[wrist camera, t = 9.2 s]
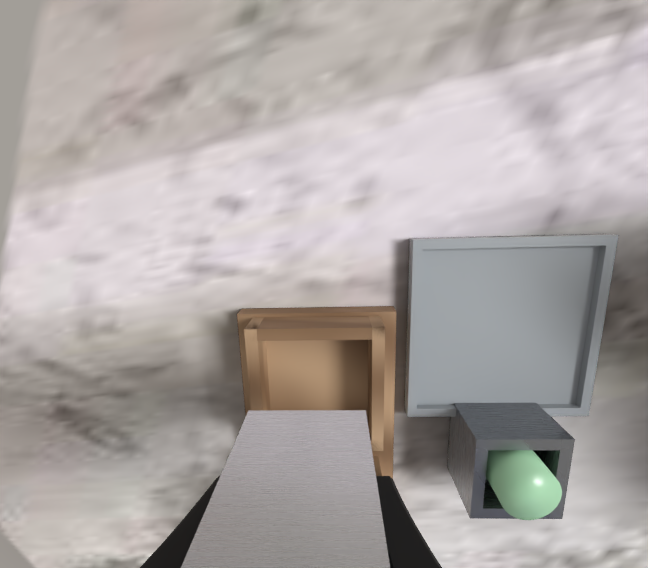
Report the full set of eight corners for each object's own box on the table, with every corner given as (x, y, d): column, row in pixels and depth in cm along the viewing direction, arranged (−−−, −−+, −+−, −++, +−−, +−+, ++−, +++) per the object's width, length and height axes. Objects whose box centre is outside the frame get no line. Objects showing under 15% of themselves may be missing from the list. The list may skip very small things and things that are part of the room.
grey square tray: (578, 407, 19) (588, 415, 18) (404, 408, 20) (407, 416, 19) (605, 233, 17) (618, 234, 16) (409, 238, 17) (413, 239, 17)
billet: (365, 508, 12) (389, 747, 7) (256, 507, 12) (194, 741, 7) (365, 410, 11) (394, 594, 6) (248, 410, 11) (170, 590, 6)
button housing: (523, 466, 20) (562, 518, 17) (447, 466, 20) (469, 518, 17) (531, 398, 19) (574, 439, 16) (451, 399, 19) (476, 439, 16)
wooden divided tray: (388, 536, 22) (396, 583, 19) (260, 534, 22) (250, 581, 19) (393, 306, 18) (403, 323, 16) (242, 308, 19) (226, 325, 16)
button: (513, 458, 20) (557, 520, 16) (465, 458, 20) (497, 519, 16) (518, 416, 19) (565, 469, 15) (468, 416, 19) (503, 469, 15)
